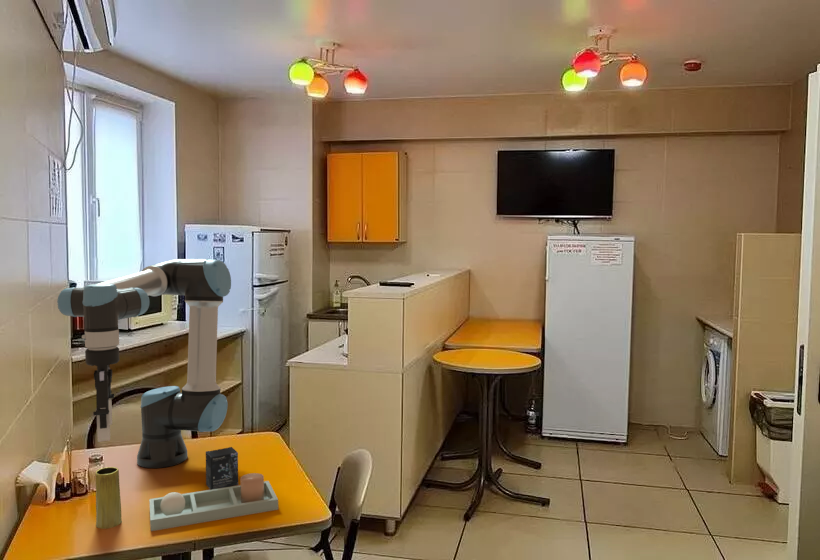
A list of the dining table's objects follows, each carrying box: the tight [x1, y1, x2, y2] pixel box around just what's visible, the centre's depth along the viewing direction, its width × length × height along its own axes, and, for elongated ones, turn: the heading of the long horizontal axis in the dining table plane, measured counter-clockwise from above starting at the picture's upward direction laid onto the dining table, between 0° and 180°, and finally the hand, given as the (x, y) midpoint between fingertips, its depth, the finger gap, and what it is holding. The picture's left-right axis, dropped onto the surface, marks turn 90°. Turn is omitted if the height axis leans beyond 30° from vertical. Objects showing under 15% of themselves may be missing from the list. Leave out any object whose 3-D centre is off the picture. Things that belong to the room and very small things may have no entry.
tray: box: [149, 480, 279, 532], centre depth 169 cm, size 13×31×4 cm, turn 113°
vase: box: [94, 466, 123, 530], centre depth 160 cm, size 6×6×14 cm
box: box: [205, 446, 239, 490], centre depth 185 cm, size 8×6×11 cm
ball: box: [160, 491, 185, 516], centre depth 164 cm, size 6×6×6 cm
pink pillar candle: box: [240, 472, 265, 503], centre depth 172 cm, size 6×6×7 cm
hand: (105, 432), depth 159 cm, fingers open, 13 cm apart
